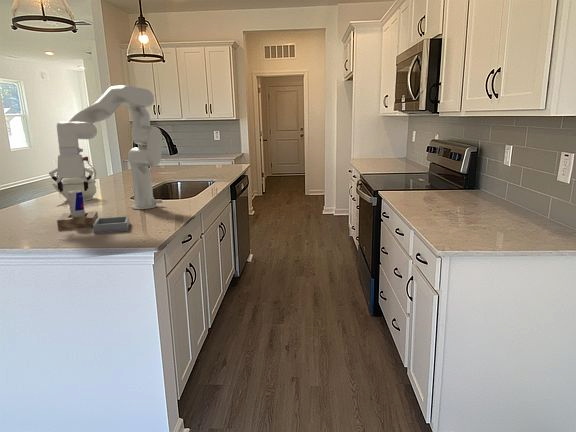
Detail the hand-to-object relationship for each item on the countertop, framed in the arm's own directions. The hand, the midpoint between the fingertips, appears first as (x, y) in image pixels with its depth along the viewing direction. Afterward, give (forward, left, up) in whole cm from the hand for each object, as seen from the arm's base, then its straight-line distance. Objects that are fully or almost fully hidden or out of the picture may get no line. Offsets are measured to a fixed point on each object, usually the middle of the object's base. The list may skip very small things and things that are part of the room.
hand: (73, 191), depth 175 cm
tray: (-15, +13, -15) cm, 25 cm away
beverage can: (0, 0, -15) cm, 15 cm away
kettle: (+11, -64, -15) cm, 67 cm away
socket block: (0, 0, -15) cm, 15 cm away
